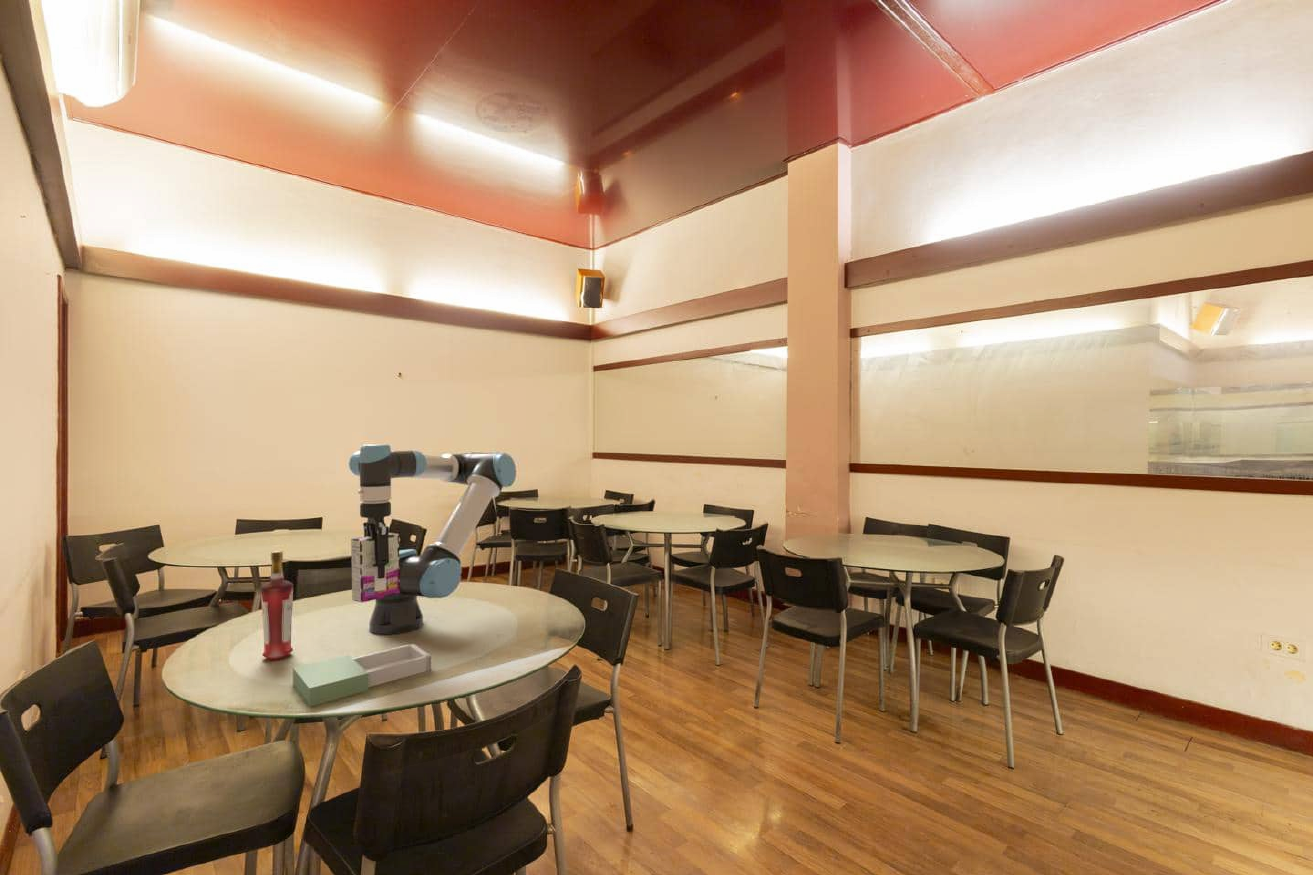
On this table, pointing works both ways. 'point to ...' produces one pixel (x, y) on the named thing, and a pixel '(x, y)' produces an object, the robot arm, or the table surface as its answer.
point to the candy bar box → (365, 571)
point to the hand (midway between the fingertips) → (376, 587)
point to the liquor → (277, 611)
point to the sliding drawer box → (357, 673)
